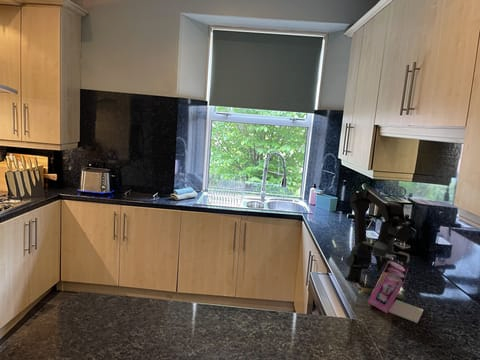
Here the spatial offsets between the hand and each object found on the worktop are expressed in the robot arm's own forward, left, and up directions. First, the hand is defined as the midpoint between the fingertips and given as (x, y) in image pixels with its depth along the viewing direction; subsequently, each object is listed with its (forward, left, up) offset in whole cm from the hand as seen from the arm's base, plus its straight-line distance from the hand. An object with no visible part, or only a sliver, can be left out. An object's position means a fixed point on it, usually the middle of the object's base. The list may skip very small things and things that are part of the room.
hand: (379, 272), depth 145 cm
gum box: (0, +3, -10) cm, 10 cm away
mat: (+2, +13, -11) cm, 17 cm away
